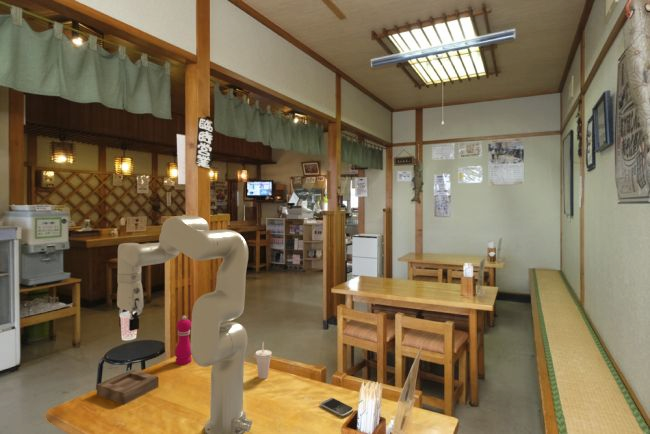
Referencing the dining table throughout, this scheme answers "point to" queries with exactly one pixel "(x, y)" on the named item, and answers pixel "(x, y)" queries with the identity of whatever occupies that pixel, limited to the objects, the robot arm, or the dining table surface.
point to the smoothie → (263, 362)
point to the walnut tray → (127, 386)
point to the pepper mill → (183, 342)
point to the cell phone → (336, 407)
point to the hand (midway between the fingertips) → (129, 327)
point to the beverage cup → (126, 327)
